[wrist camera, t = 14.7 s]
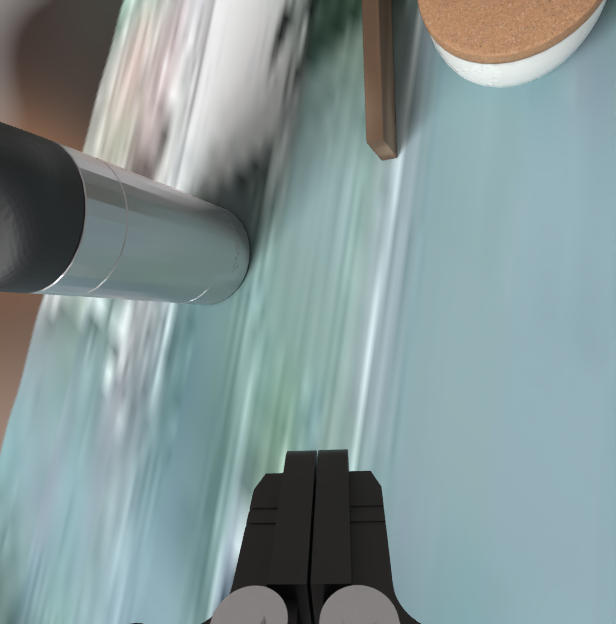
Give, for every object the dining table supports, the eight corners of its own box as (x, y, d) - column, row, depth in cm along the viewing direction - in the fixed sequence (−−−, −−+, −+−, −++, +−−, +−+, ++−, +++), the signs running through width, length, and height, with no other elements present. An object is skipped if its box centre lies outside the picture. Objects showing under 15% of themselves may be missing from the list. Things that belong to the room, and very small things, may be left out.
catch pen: (382, 160, 37) (366, 142, 33) (375, -27, 37) (359, -65, 34) (753, 92, 27) (788, 57, 24) (736, -155, 28) (768, -227, 24)
